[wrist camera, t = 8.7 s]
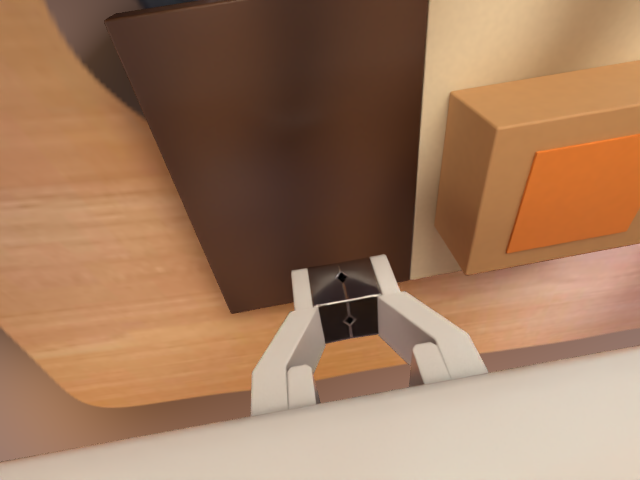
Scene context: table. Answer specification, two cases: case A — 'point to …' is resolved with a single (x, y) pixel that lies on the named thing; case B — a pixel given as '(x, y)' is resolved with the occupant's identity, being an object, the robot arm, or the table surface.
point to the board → (334, 117)
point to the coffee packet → (541, 168)
